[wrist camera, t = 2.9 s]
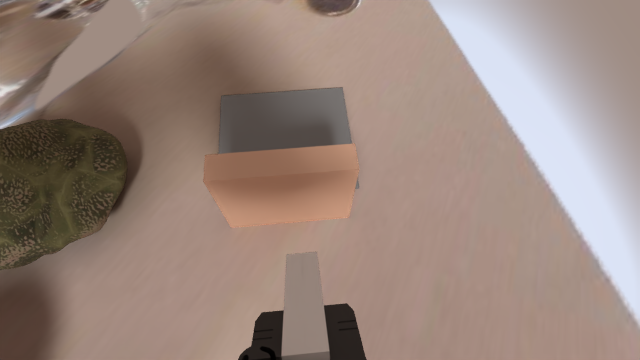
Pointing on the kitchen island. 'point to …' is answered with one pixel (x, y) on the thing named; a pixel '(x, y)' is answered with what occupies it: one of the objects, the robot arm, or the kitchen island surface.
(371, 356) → the kitchen island surface
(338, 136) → the mat
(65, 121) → the decorative rock
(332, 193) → the tile
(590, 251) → the kitchen island surface
